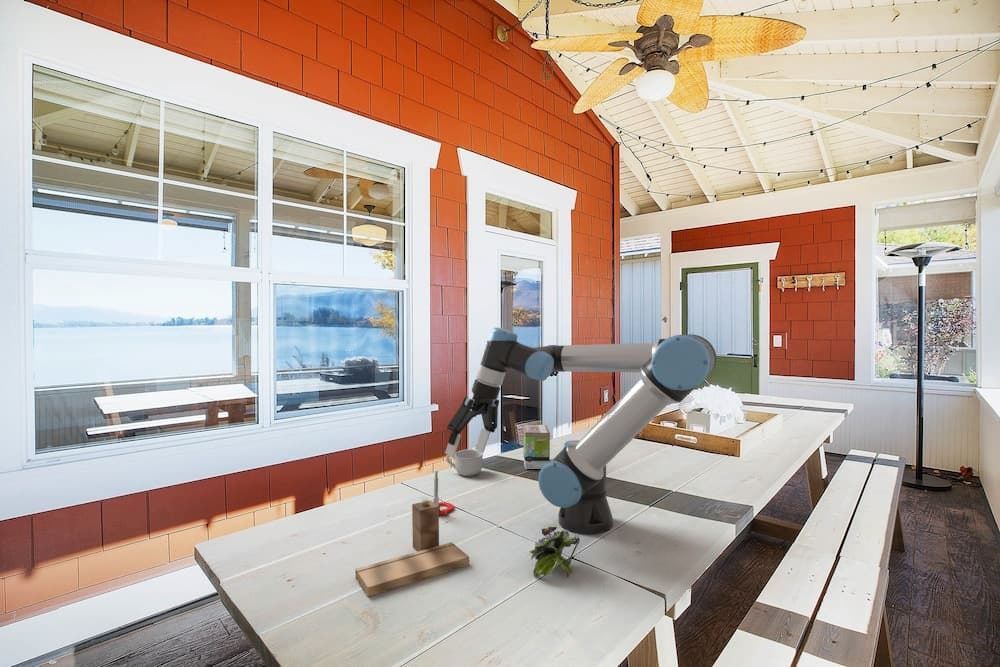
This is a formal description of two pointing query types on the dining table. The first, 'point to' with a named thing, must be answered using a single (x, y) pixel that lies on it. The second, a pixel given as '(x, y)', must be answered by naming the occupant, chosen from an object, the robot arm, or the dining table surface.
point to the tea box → (536, 446)
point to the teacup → (467, 462)
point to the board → (410, 568)
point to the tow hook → (436, 498)
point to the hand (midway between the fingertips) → (464, 453)
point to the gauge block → (425, 525)
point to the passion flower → (552, 551)
